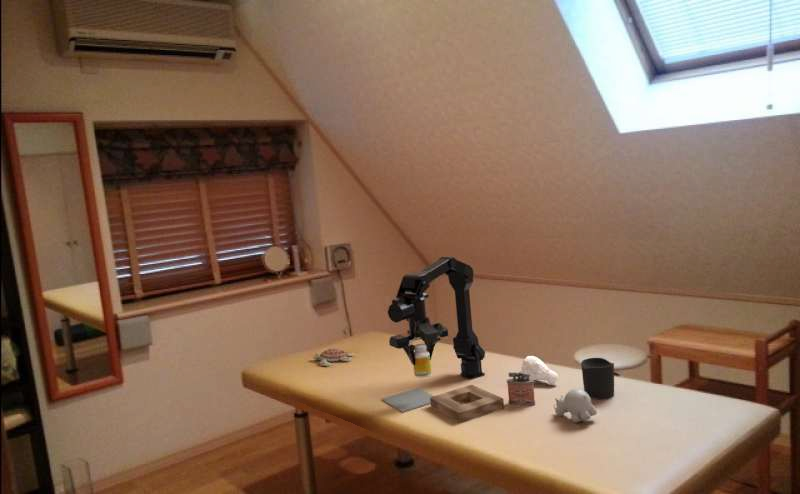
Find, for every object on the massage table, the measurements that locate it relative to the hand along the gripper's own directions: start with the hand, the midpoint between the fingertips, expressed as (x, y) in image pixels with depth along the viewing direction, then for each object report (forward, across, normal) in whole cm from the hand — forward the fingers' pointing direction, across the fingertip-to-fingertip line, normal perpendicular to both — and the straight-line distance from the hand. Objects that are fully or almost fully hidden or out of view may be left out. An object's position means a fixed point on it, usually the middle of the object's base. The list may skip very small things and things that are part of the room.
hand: (421, 362), depth 188 cm
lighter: (+13, +21, -22) cm, 33 cm away
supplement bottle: (+4, 0, 0) cm, 4 cm away
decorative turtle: (+14, -3, +65) cm, 66 cm away
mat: (+13, -2, +5) cm, 14 cm away
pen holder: (+13, +42, -32) cm, 55 cm away
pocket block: (+13, +7, -12) cm, 19 cm away
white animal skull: (+13, +37, -13) cm, 42 cm away
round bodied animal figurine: (+13, +24, -40) cm, 48 cm away
